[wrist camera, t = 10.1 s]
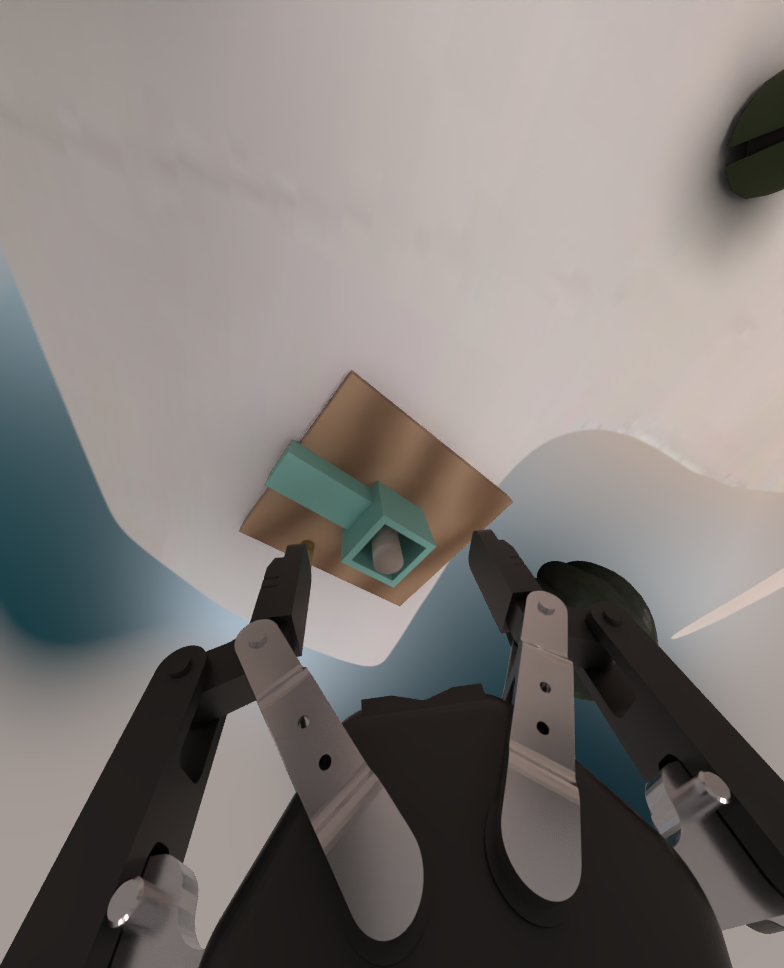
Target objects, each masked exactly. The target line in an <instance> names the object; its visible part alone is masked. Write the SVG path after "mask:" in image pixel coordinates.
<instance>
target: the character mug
mask: <svg viewBox="0 0 784 968" xmlns="http://www.w3.org/2000/svg"><path fill="white" fill-rule="evenodd" d="M748 140H750V142H749V145H748V147H747V155H748V157H746V158H743V159H741V160H739V161H736V162H734V163H732V164H730V165H727V169H726V175H727V178H728V181H729V184H730V188H731V191H733V192H735V193H736V194H738V195H740V196H741V197H743V198H744V199H749V198H754V197H760V196H765V195H769V194H772V193H775V192H777V191H780V190H783V189H784V70H782V71H781V72H779V73H778V74H777V75H775V76H774V77H772V78H771V79H770V80H768V81H767V82H765V84H764V85H763V86H762V88H761V89H760V90H759V91H758V93H757V94H756V95H755V97H754V98H753V99H752V101H751V102H750V103H749V105H748V106H747V107H746V109H745V110H744V111H743V113H742V115H741V118H740V120H739V122H738V124H737V127H736V129H735V131H734V133H733V136H732V138H731V140H730V148H731V147H733V146H736V145H738V144H741V143H743V142H746V141H748Z"/></svg>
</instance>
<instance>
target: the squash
mask: <svg viewBox="0 0 784 968" xmlns="http://www.w3.org/2000/svg"><path fill="white" fill-rule="evenodd" d="M535 579H536V581H537V582H538V584H539V585H540V586H541V588H542V589H543V591H545V592H548V593H551V594H553V595H555V596H556V597H558V598H559V599H560V600H561V601H562V602H563V603H564V605H566V606H570V607H575V608H581V609H587V610H589V609H590V607H591V606H592V604H593V603H595V602H599V601H604V602H609V603H612V604H615V605H617V606H619V607H621V608H622V609H624V610H625V611H626V612H627V613H628V614H629V615H630V616H631V617H632V618H633V619H634V620H635V621H636V622H637V623H638V624H639V625H640V626H641V627H642V629H643V630H644V631H645V632H646V633H647V634H648V635H649V636H650V637H651V638H652V639H653V640H654V642H655V643H656V644H657V645H658V639H657V632H656V628H655V624H654V620H653V617H652V615H651V612H650V610H649V608H648V606H647V605H646V603H645V601H644V600H643V598H642V596H641V595H640V594H639V593H638V592H637V591H636V590H635V589H634V587H633V586H632V585H631V584H630V583H629V582H627V581H626V580H625V579H624V578H623V577H621V576H620V575H618V574H617V573H615V572H614V571H611V570H609V569H607V568H605V567H602V566H600V565H597V564H594V563H591V562H585V561H572V562H568V563H564V562H559V561H551V562H547V563H545V564H544V565H542V566H541V568H540V569H539V571H538V573H537V578H535ZM506 634H507V637H508V640H509V643H510V645H511V646H512V642H513V639H514V638H513V636H512V634H511V632H508V633H506ZM618 667H619V666H618ZM573 675H574V698H579V699H583V700H588V701H594V699H593V698H592V696H591V694H590V693H589V691H588V690H587V688H586V687H585V685H584V683H583V682H582V680H581V679H580V677H579V675H578V674H577V672H576V671H575V669H574V667H573ZM628 680H629V679H628Z"/></svg>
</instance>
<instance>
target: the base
mask: <svg viewBox="0 0 784 968" xmlns="http://www.w3.org/2000/svg"><path fill="white" fill-rule="evenodd" d="M299 444H301V445H302V446H304V447H306V448H307V449H309V450H310V451H312V452H314V453H315V454H317V455H318V456H320V457H321V458H323V459H325V460H326V461H328V462H329V463H331V464H333V465H334V466H336V467H337V468H339V469H340V470H342V471H344V472H345V473H347V474H348V475H350V476H352V477H353V478H355V479H356V480H358V481H360V482H361V483H363V484H364V485H366V486H367V487H369V488H372V487H373V486H374V484H375V483H376V482H377V481H379V482H381V483H382V484H384V485H386V486H387V487H389V488H390V489H392V490H393V491H395V492H396V493H398V494H399V495H401V496H402V497H404V498H405V499H407V500H409V501H410V502H412V503H413V504H415V505H416V506H418V507H419V508H421V509H422V510H423V512H424V515H425V517H426V520H427V523H428V525H429V528H430V531H431V534H432V536H433V539H434V542H435V544H436V547H435V548H434V549H433V550H432V551H431V552H430V553H429V554H428V555H427V556H426V557H425V558H424V559H423V560H422V561H421V562H420V563H419V564H418V565H417V566H416V567H415V568H414V569H413V570H412V571H411V572H410V573H408V574H407V575H406V576H405V577H404V578H403V579H402V580H401V581H400V582H399V583H398V584H397V585H396V586H395V587H394V588H393V587H391V586H389V585H387V584H385V583H383V582H381V581H379V580H377V579H375V578H373V577H371V576H369V575H367V574H365V573H363V572H361V571H358V570H356V569H354V568H352V567H350V566H348V565H346V564H344V563H342V562H341V546H342V527H341V526H339V525H337V524H336V523H334V522H332V521H330V520H328V519H326V518H325V517H323V516H321V515H319V514H317V513H315V512H313V511H312V510H310V509H308V508H306V507H304V506H302V505H301V504H299V503H297V502H295V501H293V500H291V499H290V498H288V497H286V496H284V495H282V494H280V493H279V492H277V491H275V490H273V489H271V488H269V487H268V488H267V490H266V491H265V492H264V494H263V495H262V497H261V498H260V499H259V501H258V502H257V504H256V505H255V506H254V508H253V509H252V511H251V512H250V513H249V515H248V516H247V518H246V519H245V520H244V522H243V524H242V526H241V528H240V530H239V532H242V533H244V534H246V535H248V536H250V537H252V538H254V539H257V540H259V541H261V542H263V543H265V544H267V545H269V546H272V547H274V548H276V549H278V550H280V551H282V552H284V553H285V552H286V548H287V545H291V544H304V543H306V545H307V550H308V556H309V561H310V567H311V566H315V567H317V568H319V569H321V570H323V571H325V572H327V573H330V574H332V575H334V576H336V577H338V578H340V579H342V580H345V581H347V582H349V583H351V584H353V585H355V586H357V587H360V588H362V589H364V590H366V591H368V592H370V593H372V594H375V595H377V596H379V597H381V598H383V599H385V600H387V601H390V602H392V603H394V604H396V605H398V606H401V605H402V604H403V603H404V602H405V601H406V600H407V599H408V598H409V597H410V596H411V595H413V594H414V593H415V592H416V591H417V590H418V589H419V588H420V587H421V586H422V585H423V584H425V583H426V582H427V581H428V580H429V579H430V578H431V577H432V576H433V575H434V574H435V573H436V572H438V571H439V570H440V569H441V568H442V567H443V566H444V565H445V564H446V563H447V562H448V561H450V560H451V559H452V558H453V557H454V556H455V555H456V554H457V553H458V552H459V551H460V550H461V549H463V548H464V547H465V546H466V545H467V544H468V543H469V542H470V541H471V539H472V534H473V531H476V530H483V529H484V528H485V527H486V526H488V525H489V524H490V523H491V522H492V521H493V520H494V519H495V518H496V517H497V516H498V515H500V514H501V513H502V512H503V511H504V510H505V509H506V508H507V507H508V506H509V505H510V504H511V503H513V501H512V500H511V499H510V498H509V496H507V494H506V493H504V492H503V491H502V490H501V489H499V488H498V487H497V486H496V485H494V484H493V483H492V482H491V481H489V480H488V479H487V478H486V477H484V476H483V475H482V474H481V473H479V472H478V471H477V470H476V469H474V468H473V467H472V466H471V465H469V464H468V463H467V462H466V461H464V460H463V459H462V458H461V457H459V456H458V455H457V454H456V453H454V452H453V451H452V450H451V449H450V448H448V447H447V446H446V445H445V444H443V443H442V442H441V441H440V440H438V439H437V438H436V437H435V436H433V435H432V434H431V433H430V432H428V431H427V430H426V429H425V428H423V427H422V426H421V425H420V424H418V423H417V422H416V421H415V420H413V419H412V418H411V417H410V416H408V415H407V414H406V413H405V412H403V411H402V410H401V409H400V408H398V407H397V406H396V405H395V404H393V403H392V402H391V401H390V400H388V399H387V398H386V397H385V396H383V395H382V394H381V393H380V392H378V391H377V390H376V389H375V388H373V387H372V386H371V385H370V384H368V383H367V382H366V381H365V380H363V379H362V378H361V377H360V376H358V375H357V374H356V373H355V372H353V371H352V370H351V372H350V373H349V375H348V376H347V377H346V379H345V380H344V382H343V383H342V384H341V386H340V387H339V389H338V390H337V391H336V393H335V394H334V396H333V397H332V398H331V400H330V401H329V403H328V404H327V405H326V407H325V408H324V410H323V411H322V412H321V414H320V415H319V417H318V418H317V420H316V421H315V422H314V424H313V425H312V427H311V428H310V429H309V431H308V432H307V434H306V435H305V436H304V438H303V439H302V441H301V442H300V443H299ZM371 544H372V554H373V565H374V568H375V570H376V571H377V572H379V573H381V574H393V573H395V572H397V571H399V570H400V569H401V568H402V566H403V563H404V561H403V556H402V551H401V547H400V542H399V538H398V533H397V531H396V530H394V529H393V528H391V527H389V526H388V525H386V524H384V525H383V527H382V528H381V529H380V530H379V531H378V532H377V533H376V534H375V535H374V536H373V537H372V538H371Z"/></svg>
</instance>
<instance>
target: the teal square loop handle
mask: <svg viewBox="0 0 784 968" xmlns="http://www.w3.org/2000/svg"><path fill="white" fill-rule="evenodd" d="M265 485H266V486H267V487H269V488H271V489H273V490H275V491H277V492H279V493H280V494H282V495H284V496H286V497H288V498H290V499H291V500H293V501H295V502H297V503H299V504H301V505H302V506H304V507H306V508H308V509H310V510H312V511H313V512H315V513H317V514H319V515H321V516H323V517H325V518H326V519H328V520H330V521H332V522H334V523H336V524H337V525H339V526H341V527H342V546H341V562H342V563H344V564H346V565H348V566H350V567H352V568H354V569H356V570H358V571H361V572H363V573H365V574H367V575H369V576H371V577H373V578H375V579H377V580H379V581H381V582H383V583H385V584H387V585H389V586H391V587H393V588H394V587H395V586H396V585H397V584H398V583H399V582H400V581H401V580H402V579H403V578H404V577H405V576H406V575H407V574H408V573H410V572H411V571H412V570H413V569H414V568H415V567H416V566H417V565H418V564H419V563H420V562H421V561H422V560H423V559H424V558H425V557H426V556H427V555H428V554H429V553H430V552H431V551H432V550H433V549H434V548H435V547H436V544H435V542H434V539H433V536H432V534H431V531H430V528H429V525H428V523H427V520H426V517H425V515H424V512H423V510H422V509H421V508H419V507H418V506H416V505H415V504H413V503H412V502H410V501H409V500H407V499H405V498H404V497H402V496H401V495H399V494H398V493H396V492H395V491H393V490H392V489H390V488H389V487H387V486H386V485H384V484H382V483H381V482H379V481H377V482H376V483H375V484H374V486H373V487H372V488H369V487H367V486H366V485H364V484H363V483H361V482H360V481H358V480H356V479H355V478H353V477H352V476H350V475H348V474H347V473H345V472H344V471H342V470H340V469H339V468H337V467H336V466H334V465H333V464H331V463H329V462H328V461H326V460H325V459H323V458H321V457H320V456H318V455H317V454H315V453H314V452H312V451H310V450H309V449H307V448H306V447H304V446H302V445H301V444H299V443H298V442H296V441H294V440H293V441H292V442H291V444H290V445H289V447H288V448H287V449H286V451H285V452H284V454H283V455H282V457H281V458H280V460H279V461H278V462H277V464H276V465H275V467H274V468H273V470H272V471H271V473H270V475H269V477H268V479H267V481H266V483H265ZM384 524H386V525H388V526H389V527H391V528H393V529H394V530H396V531H397V533H398V538H399V542H400V547H401V551H402V556H403V561H404V563H403V566H402V568H401V569H400V570H399V571H397V572H395V573H393V574H381V573H379V572H377V571H376V570H375V568H374V565H373V554H372V544H371V538H372V537H373V536H374V535H375V534H376V533H377V532H378V531H379V530H380V529H381V528H382V527H383V525H384Z"/></svg>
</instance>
